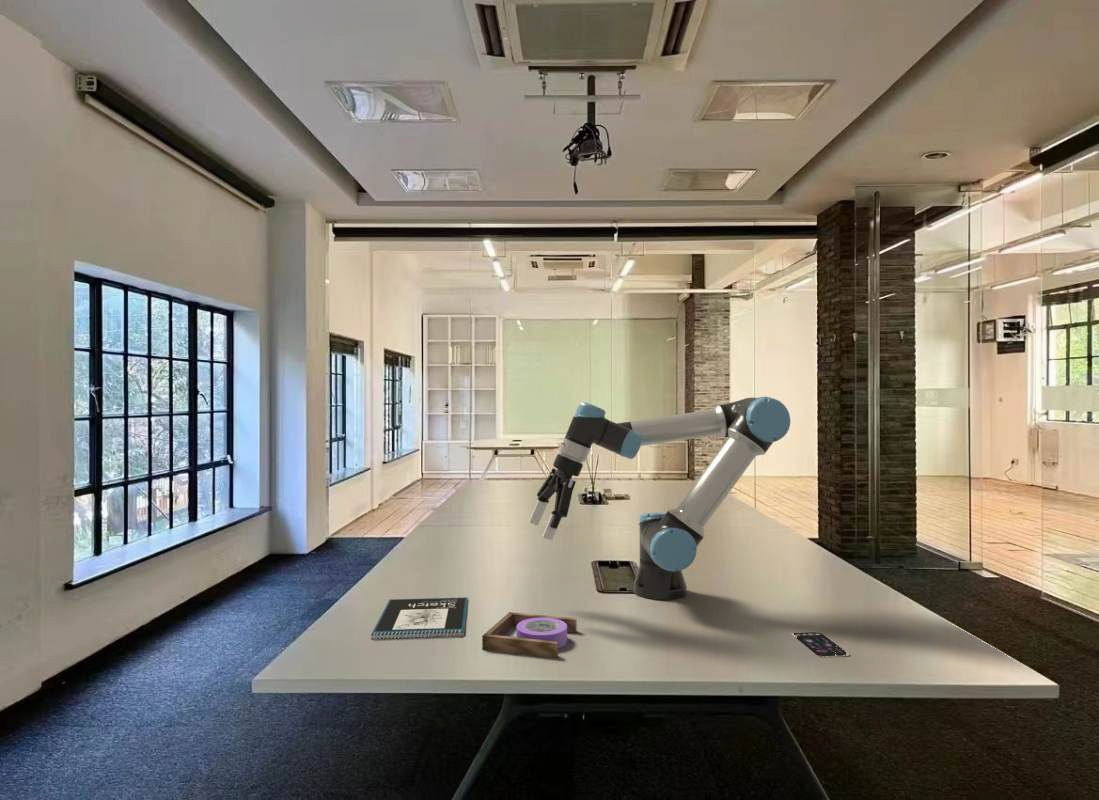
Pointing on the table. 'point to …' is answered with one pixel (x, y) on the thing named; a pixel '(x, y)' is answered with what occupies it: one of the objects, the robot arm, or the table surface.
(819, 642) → the smartphone
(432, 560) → the table surface
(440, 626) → the sketchbook
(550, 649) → the wooden u-shaped frame
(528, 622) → the masking tape
